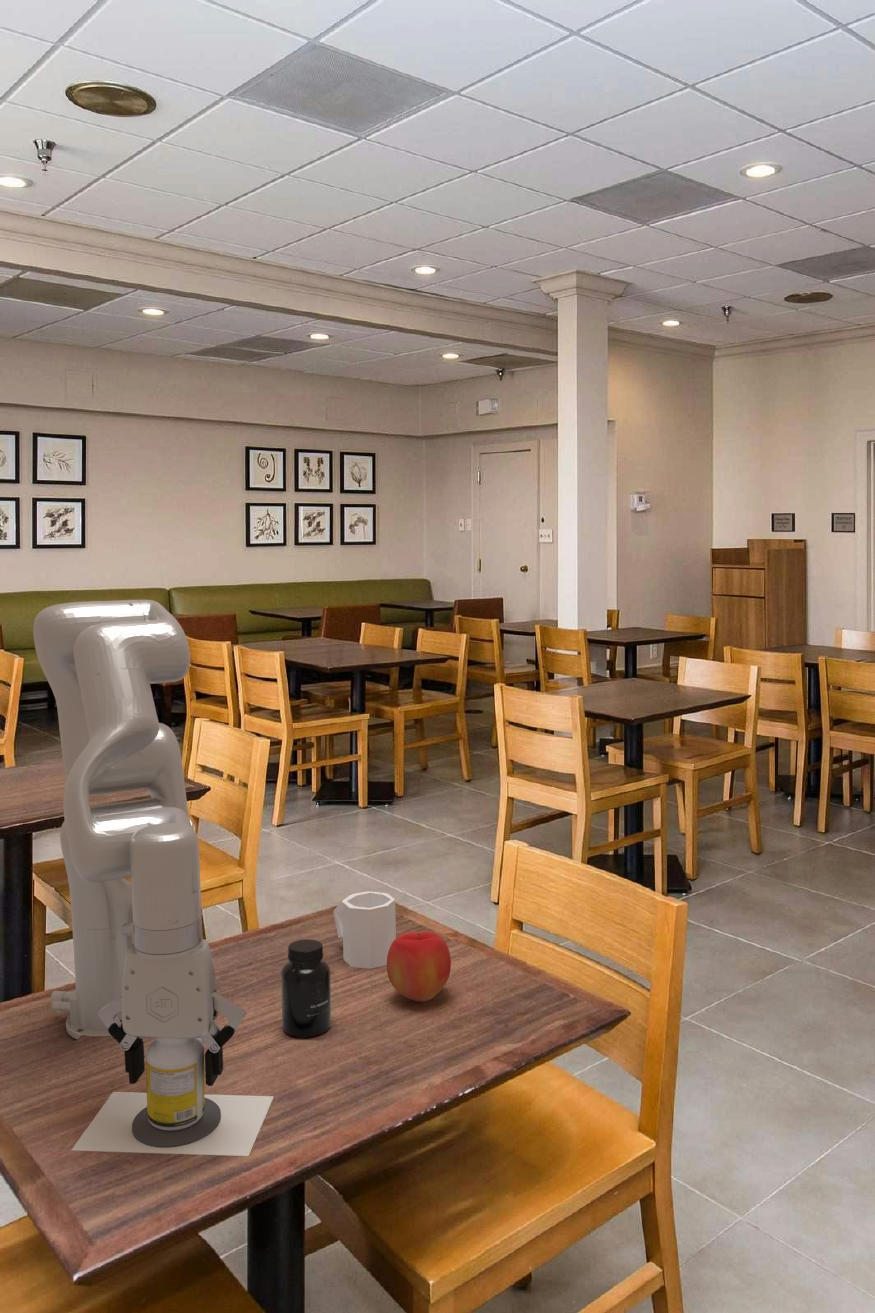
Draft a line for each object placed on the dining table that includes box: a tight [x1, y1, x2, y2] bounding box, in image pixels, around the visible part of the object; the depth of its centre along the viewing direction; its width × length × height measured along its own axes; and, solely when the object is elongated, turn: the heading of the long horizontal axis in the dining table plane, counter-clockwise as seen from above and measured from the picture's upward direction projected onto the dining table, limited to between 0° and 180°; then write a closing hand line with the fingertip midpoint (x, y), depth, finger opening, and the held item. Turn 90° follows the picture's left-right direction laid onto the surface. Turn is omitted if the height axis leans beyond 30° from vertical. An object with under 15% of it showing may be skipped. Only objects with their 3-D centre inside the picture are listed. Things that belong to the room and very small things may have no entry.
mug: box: [333, 890, 397, 970], centre depth 168 cm, size 12×9×10 cm
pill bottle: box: [145, 1038, 206, 1131], centre depth 118 cm, size 6×6×12 cm
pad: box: [132, 1098, 221, 1148], centre depth 119 cm, size 10×10×1 cm
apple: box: [386, 931, 452, 1003], centre depth 152 cm, size 10×10×10 cm
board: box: [71, 1091, 275, 1157], centre depth 119 cm, size 20×12×1 cm, turn 86°
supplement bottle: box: [280, 938, 332, 1038], centre depth 143 cm, size 7×7×12 cm
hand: (174, 1078), depth 118 cm, fingers open, 8 cm apart
